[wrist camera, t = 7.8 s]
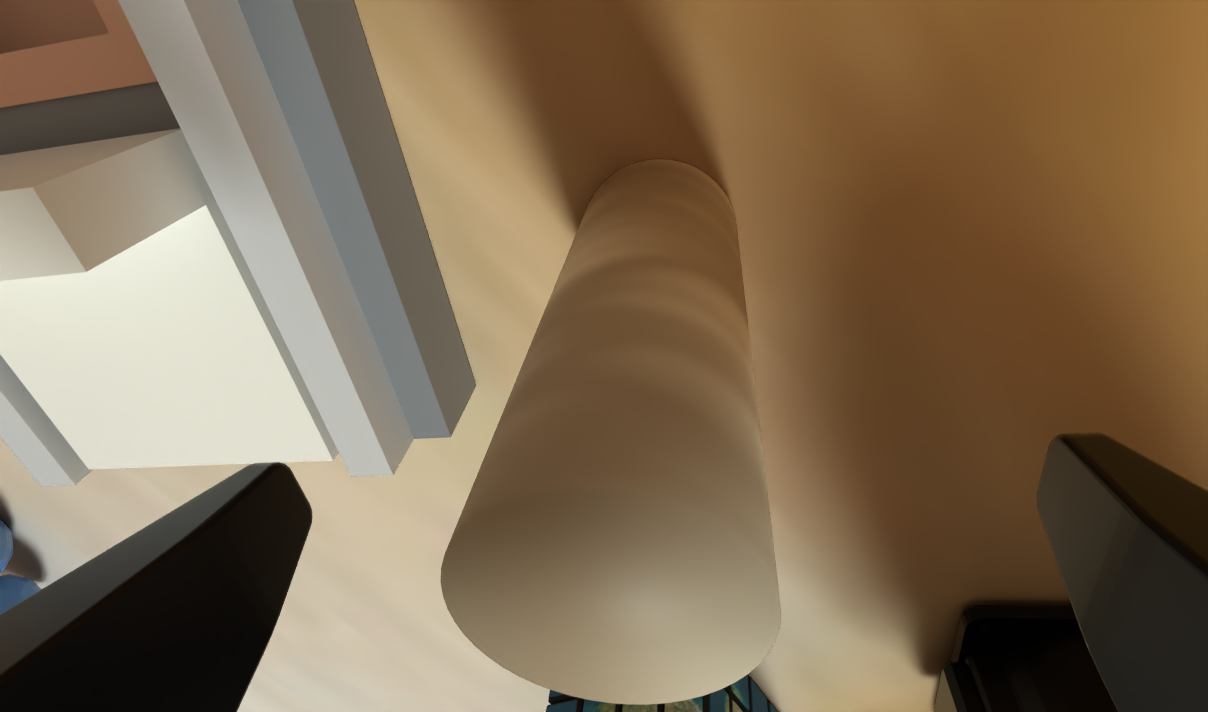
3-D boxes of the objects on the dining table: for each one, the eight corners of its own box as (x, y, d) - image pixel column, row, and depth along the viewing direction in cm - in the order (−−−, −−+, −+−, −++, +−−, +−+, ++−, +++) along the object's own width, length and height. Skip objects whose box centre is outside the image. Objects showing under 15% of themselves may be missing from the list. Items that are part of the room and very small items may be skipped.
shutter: (194, 124, 11) (32, 186, 8) (345, 442, 15) (267, 556, 12) (-100, 168, 12) (-323, 236, 10) (108, 452, 16) (-11, 557, 13)
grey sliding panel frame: (136, -679, 8) (-146, -982, 5) (475, 385, 16) (432, 474, 14) (-467, -419, 10) (-889, -545, 7) (109, 406, 18) (10, 487, 16)
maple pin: (732, 149, 12) (779, 481, 5) (740, 297, 14) (783, 710, 7) (570, 168, 13) (394, 490, 6) (596, 308, 15) (487, 699, 7)
